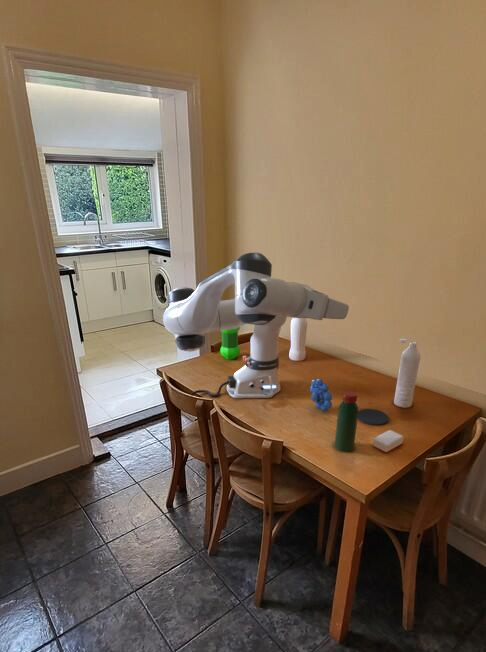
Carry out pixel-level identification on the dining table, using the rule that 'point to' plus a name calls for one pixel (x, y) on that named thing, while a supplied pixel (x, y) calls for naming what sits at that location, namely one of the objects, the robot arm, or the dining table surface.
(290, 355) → the bottle
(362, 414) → the coaster
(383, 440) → the soap
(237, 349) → the plastic bottle
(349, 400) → the cap
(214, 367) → the dining table surface
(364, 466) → the dining table surface
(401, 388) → the water bottle
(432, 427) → the dining table surface
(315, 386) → the grapes
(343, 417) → the green bottle
